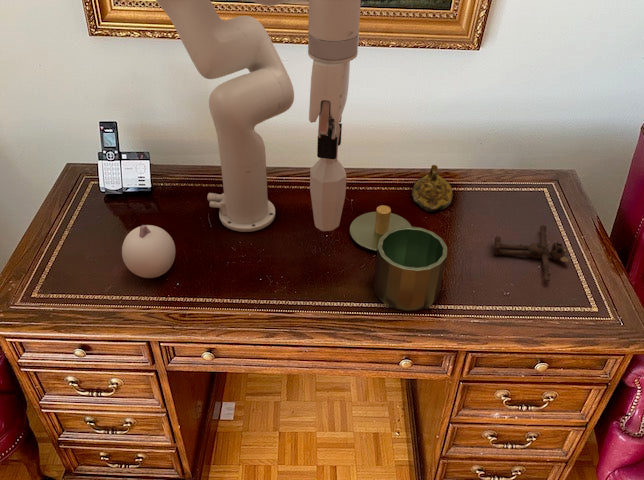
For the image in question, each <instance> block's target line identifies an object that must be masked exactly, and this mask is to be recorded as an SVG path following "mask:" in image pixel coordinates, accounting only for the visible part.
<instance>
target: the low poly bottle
mask: <svg viewBox="0 0 644 480" xmlns="http://www.w3.org/2000/svg"><path fill="white" fill-rule="evenodd" d="M329 119H333V118H332V117H330V118H329ZM329 128H331V130H332V125H329ZM339 135H340V126H339V123H338V124H336V137H337V156H336V159H325V158H318V160H317V162H315V163H314V165H313V166H311V167H310V168H309V191H310V199H311V208H312V216H313V221H314V227H315V228H316V229H318V230H320V231H321V232H332V231H334V230H335V229H337V228H338V227H340V223H341V218H342V214H343V210H344V209H343V208H344V204H345V199H346V193H347V178H348V177H347V176H348V175H347V173H346V169H345V167H344V166H343V165H342V163H341V162H340V161H339V160H338V153H339V151H338V150H339V146H338V142H339Z"/></svg>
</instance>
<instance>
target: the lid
mask: <svg viewBox="0 0 644 480" xmlns="http://www.w3.org/2000/svg"><path fill="white" fill-rule="evenodd" d="M407 226H410V227H413V226H412V225H411V223H410V222H409V221H408V220H407V219H406V218H404V217H402V216H401V215H398V214H397V213H394V212H393V213H392V209H391V207H390V206H388V205H383V204H382V205H379V206H377V207H376V211H370V212H365V213H363V214H360V215H359V216H357V217H355V218H354V219H353V220H352V222H351V224H350V226H349V236H350V238H351V239H352V241H353V242H354V243H355V244H356V245H357V246H358V247H360V248H362V249H363V250H367V251H370V252H374V253H377V250H378V243H379V239H380V238H381V237H382V236H383V235H384V234H385V233H386V232H388V231H390V230H392V229H395V228H399V227H407Z"/></svg>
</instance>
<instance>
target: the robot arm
mask: <svg viewBox="0 0 644 480" xmlns="http://www.w3.org/2000/svg"><path fill="white" fill-rule="evenodd" d="M250 1H251V2H253V3H255V4H258V5H261V6H266V7H272V6H273V7H275V6H277V5H281V4H284V3H287V2H290V1H291V0H250ZM155 2H156V3H158V5H159V6H160V8H161V9H162V10H163V11H164V13H165V14H166V15H167V17H168V18H169V20H170V22H171V24H172V25H173V27H174V29H175V31H176V33H177V35H178V37H179V38H180V41H181V42H182V44H183V46H184V48H185V50H186V52H187V54H188V56H189V58H190V60H191V61H192V63H193V66H194V67H195V68H196V70H197V72H198V74H200V75H201V77H203V78H204V79H206V80H215V79H220V78H223V77H226V76H229V75H232V74H235V73H238V72H240V71H243V70H246V69H247V70H248V73H244V74H242V75H239V76H236V77H233V78H231V79H228V80H225V81H223V82H222V83H220V84H219V85H217V86H216V87H215V88H214V89H213V90H212V91H211V93H210V94H209V98H208V109H209V112H210V115H211V118H212V121H213V125H214V128H215V132H216V137H217V144H218V152H219V161H220V168H221V179H222V187H223V192H222V193H221V194H219V193H216V192H215V193H214V192H208V193H207V197H206V198H207V202H209V208H215V209H217V208H218V209H219V211H218V216H219V221H220V222H221V224H222V225H223V226H224V227H226V228H227V229H230V230H232V231H235V232H241V233H250V232H256V231H260V230H263V229H264V228H267V227H268V226H270V225H271V224H272V223H273V222H274V220H275V218H276V208H275V205H274V204H273V203H272V202H271V201H270V200H269V198H268V176H267V174H268V173H267V153H266V145H265V141H264V139H263V137H262V136H261V135H260V134H259V133H258V132H257V131H256V129H255V127H256V126H257V125H259V124H261V123H263V122H265V121H267V120H270V119H272V118H274V117H277V116H279V115H282V114H284V113H286V112H287V111H289V110H290V109H291V107H292V106H293V104H294V102H295V90H294V85H293V83H292V79H291V78H290V75H289V73H288V71H287V69H286V67H285V65H284V63H283V60H282V59H281V57H280V55H279V53H278V51H277V49H276V46H275V45H274V43H273V41H272V39H271V37H270V35H269V33H268V32H267V30H266V27H264V25H263V24H262V23H261V22H260V21H259V20H258V19H257V18H254V17H253V16H250V15H239V16H236V17H232V18H230V19H229V18H228V19H226V20H224V19H222V18H221V17H220V15H219V14H218V12H217V11H216V8H215V7H214V6H215V5H214V4H213V2H212V0H155ZM361 3H362V0H308V15H307V16H308V18H307V19H308V23H307V25H308V28H307V29H308V33H307V37H308V41H307V55H308V57H309V58H310V59H311V60H312V66H311V74H310V75H311V76H310V89H309V107H308V109H309V111H308V121H309V122H310V123H311V124H312V123H316V122H317V120H318V131H317V145H316V147H317V149H316V151H317V154H316V156H317V158H318V159H320V158H325V159H336V156H337V157H338V155H337V137H336V124H338V123H339V126H340V135H339V142H338V147H339V146H341V144H342V131H343V130H342V129H343V123H342V119H343V118H342V117H343V112H344V110H345V108H346V104H347V100H348V93H349V86H350V85H349V84H350V68H351V61H353V60H354V59H356V58H357V57H358V52H359V40H360V39H359V38H360V23H361V21H360V19H361V6H362V5H361ZM330 117H332V118H333V119H329V118H330ZM329 125H332V130H331V128H329Z"/></svg>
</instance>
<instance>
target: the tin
mask: <svg viewBox="0 0 644 480" xmlns="http://www.w3.org/2000/svg"><path fill="white" fill-rule="evenodd" d="M447 257H448V246H447V244H446V243H445V241H444V239H443V238H442V237H440V235H438V234H437V233H435V232H434V231H432V230H428V229H426V228H423V227H417V226H412V227H410V226H407V227H399V228H395V229H392V230H390V231H388V232H386V233H385V234H384V235H383V236H382V237H381V238H380V239H379V243H378V250H377V252H376V259H375V260H376V261H375V269H374V279H373V291H374V294H375V296H376V297H377V298H378V300H379V301H380V302H381V303H382V304H384V305H385V306H387V307H389V308H391V309H394V310H397V311H401V312H419V311H423V310H425V309H428V308H430V307H431V306H433V304H434V303H435V302H436V301H437V300H438V298H439V296H440V292H441V286H442V282H443V277H444V272H445V267H446V262H447Z"/></svg>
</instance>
